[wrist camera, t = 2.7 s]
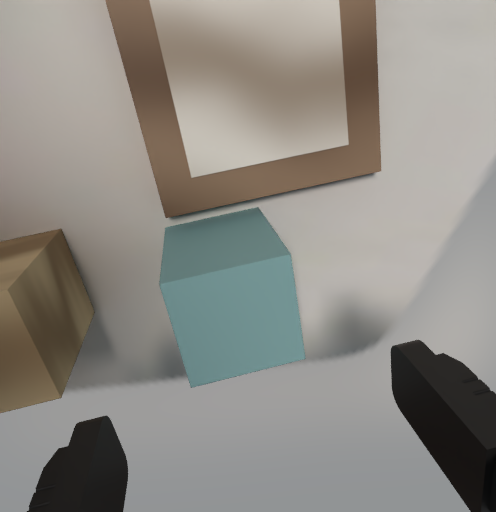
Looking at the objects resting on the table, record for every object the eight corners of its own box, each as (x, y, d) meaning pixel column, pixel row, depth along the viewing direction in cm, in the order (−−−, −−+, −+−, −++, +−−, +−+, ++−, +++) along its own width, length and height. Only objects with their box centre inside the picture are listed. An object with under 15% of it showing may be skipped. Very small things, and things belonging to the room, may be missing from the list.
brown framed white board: (93, -53, 14) (87, -65, 13) (359, -95, 15) (372, -109, 14) (166, 211, 18) (165, 218, 17) (371, 167, 19) (382, 171, 18)
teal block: (165, 227, 18) (159, 284, 13) (257, 207, 19) (290, 254, 13) (188, 307, 20) (191, 387, 15) (271, 287, 20) (305, 358, 15)
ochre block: (-42, 250, 17) (-145, 324, 12) (61, 228, 17) (7, 289, 12) (2, 333, 19) (-70, 430, 13) (94, 311, 19) (61, 397, 14)
